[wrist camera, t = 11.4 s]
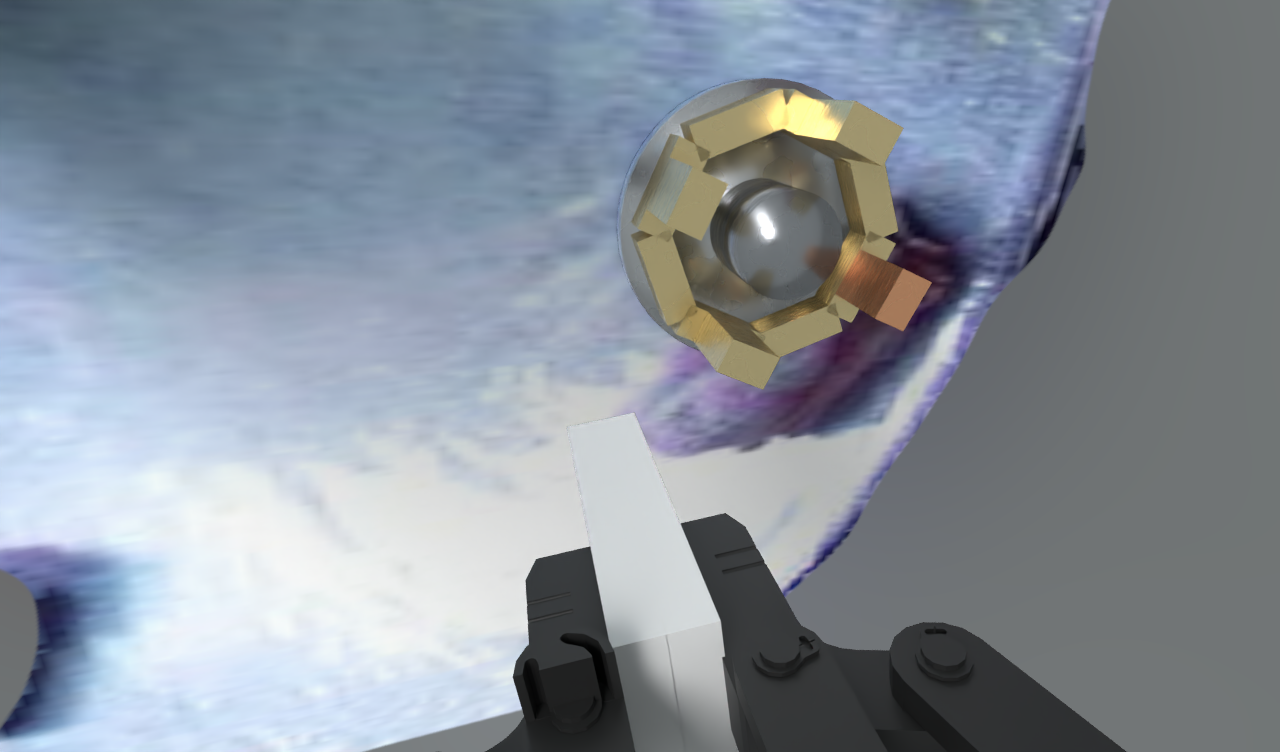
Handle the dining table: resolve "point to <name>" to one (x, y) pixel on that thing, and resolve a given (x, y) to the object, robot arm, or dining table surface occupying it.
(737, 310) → the silver round piece
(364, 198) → the dining table surface
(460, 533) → the dining table surface
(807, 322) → the gold crown
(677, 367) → the dining table surface
